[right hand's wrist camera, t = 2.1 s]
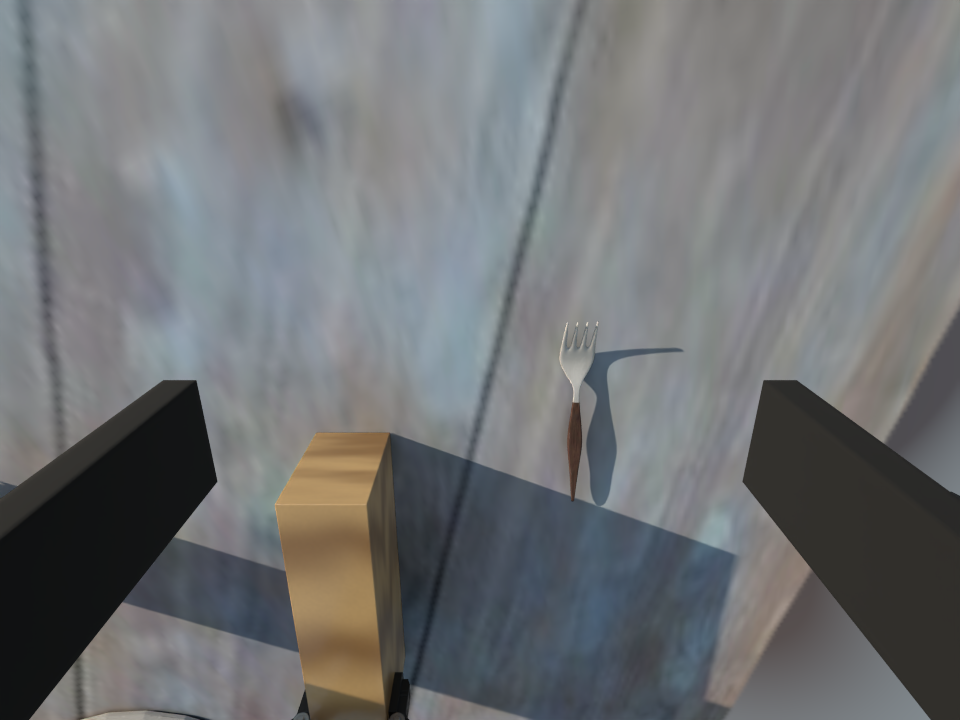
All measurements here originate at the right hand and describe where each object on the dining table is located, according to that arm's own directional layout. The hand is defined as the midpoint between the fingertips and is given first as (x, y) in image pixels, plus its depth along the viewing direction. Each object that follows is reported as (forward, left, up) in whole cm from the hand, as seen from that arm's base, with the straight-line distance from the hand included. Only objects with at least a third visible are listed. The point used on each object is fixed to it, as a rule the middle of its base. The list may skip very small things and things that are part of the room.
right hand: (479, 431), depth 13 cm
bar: (+17, +24, -27) cm, 39 cm away
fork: (-4, +14, -27) cm, 31 cm away
